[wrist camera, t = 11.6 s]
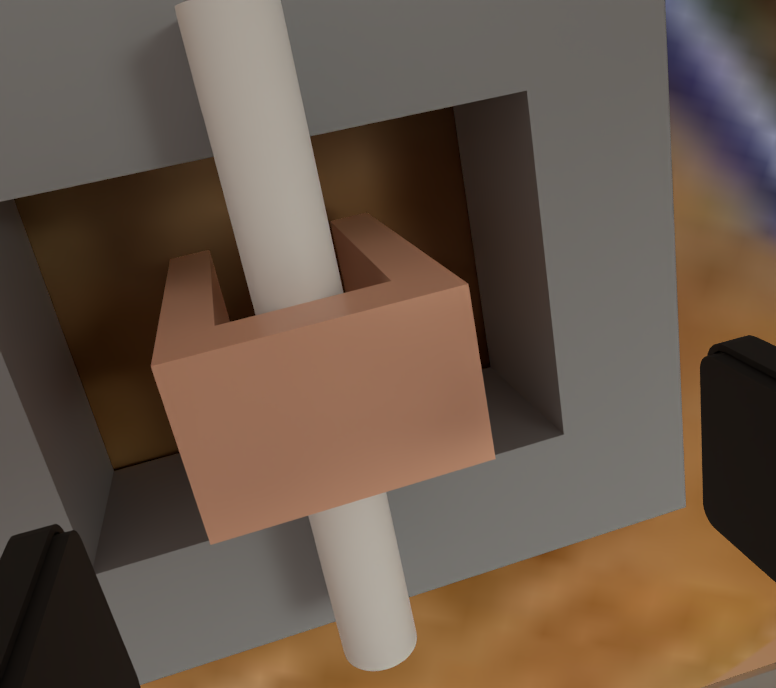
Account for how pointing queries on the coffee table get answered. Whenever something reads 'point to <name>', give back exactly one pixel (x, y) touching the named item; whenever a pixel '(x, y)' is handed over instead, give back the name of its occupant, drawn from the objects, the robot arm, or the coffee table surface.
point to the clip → (321, 385)
